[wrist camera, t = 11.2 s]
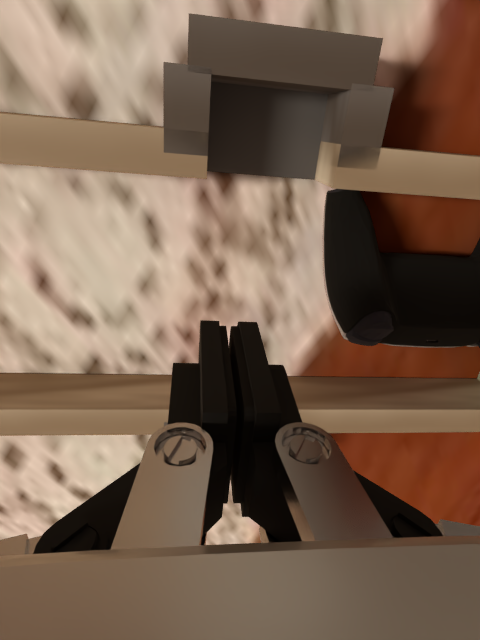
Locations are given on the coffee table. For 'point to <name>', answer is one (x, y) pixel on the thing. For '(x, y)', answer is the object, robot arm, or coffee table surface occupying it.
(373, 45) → the channel
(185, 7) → the coffee table surface
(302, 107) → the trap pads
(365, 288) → the gaming controller
